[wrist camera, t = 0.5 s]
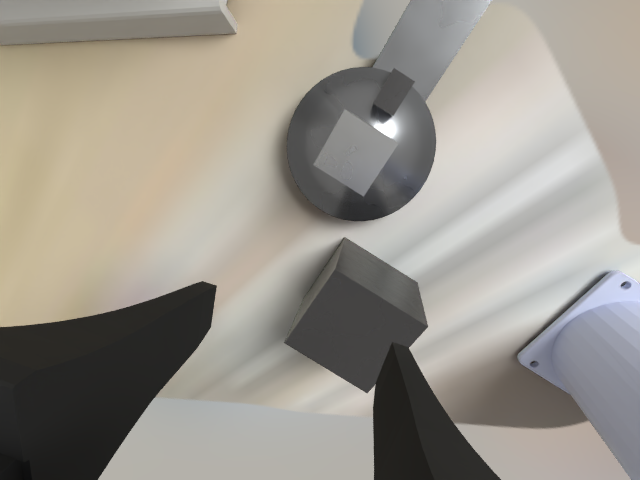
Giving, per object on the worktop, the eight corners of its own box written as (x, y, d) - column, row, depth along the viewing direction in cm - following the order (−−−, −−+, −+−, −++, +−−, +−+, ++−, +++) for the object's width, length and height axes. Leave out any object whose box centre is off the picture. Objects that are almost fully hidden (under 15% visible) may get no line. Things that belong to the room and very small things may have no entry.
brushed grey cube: (417, 282, 21) (428, 326, 16) (369, 339, 23) (367, 393, 19) (344, 237, 21) (335, 269, 16) (303, 298, 23) (284, 342, 18)
